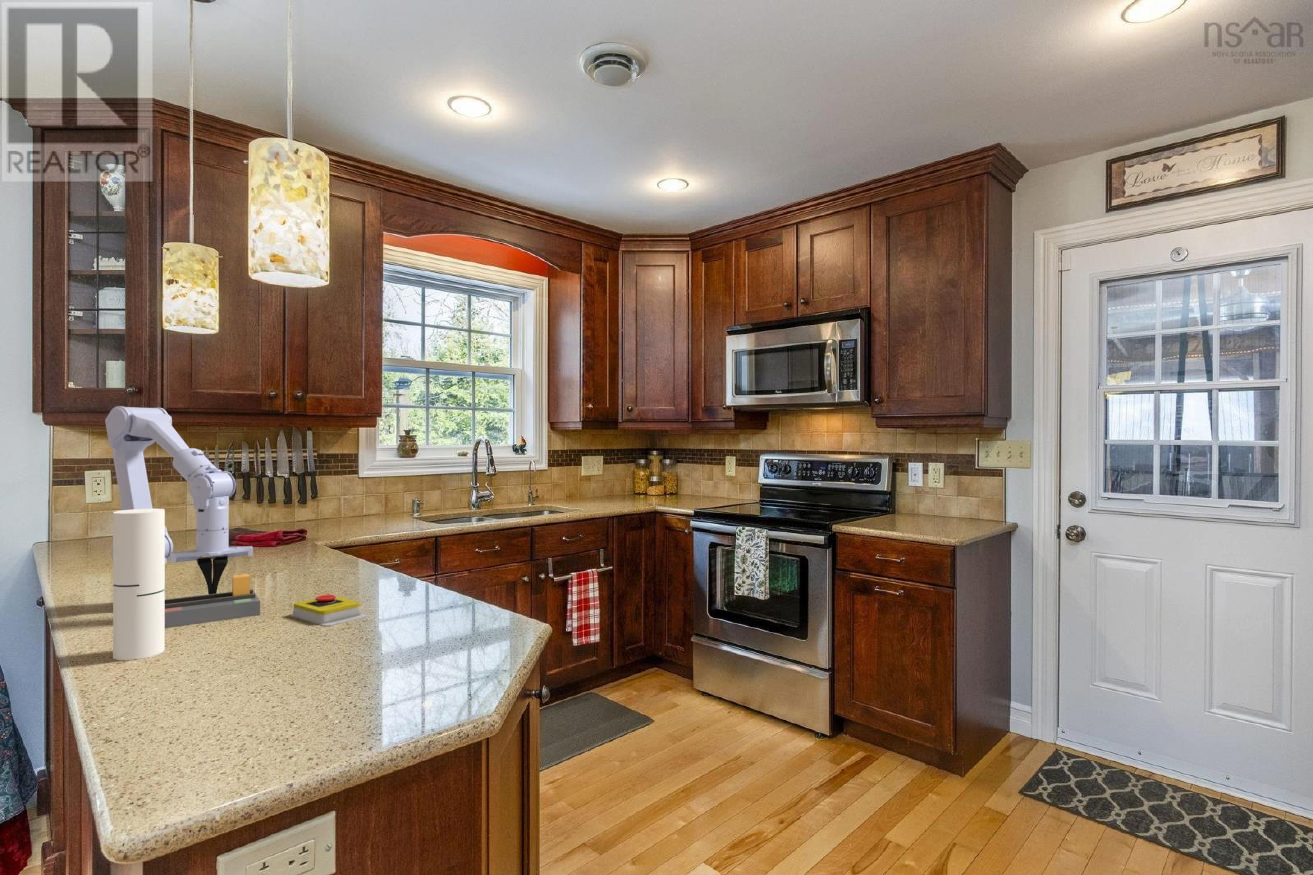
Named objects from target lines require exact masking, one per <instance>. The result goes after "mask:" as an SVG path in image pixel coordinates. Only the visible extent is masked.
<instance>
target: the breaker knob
mask: <svg viewBox="0 0 1313 875" xmlns="http://www.w3.org/2000/svg"><path fill="white" fill-rule="evenodd" d="M249 574H250V573H243V574H242V573H241V574H233V575H231V577H232V578H231V585H232V586H231V592H232V596H238V595H247V594H250V590H251V586H250V585H251V582H250V581H251V580H250V579H251V576H250V575H249Z"/></svg>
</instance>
